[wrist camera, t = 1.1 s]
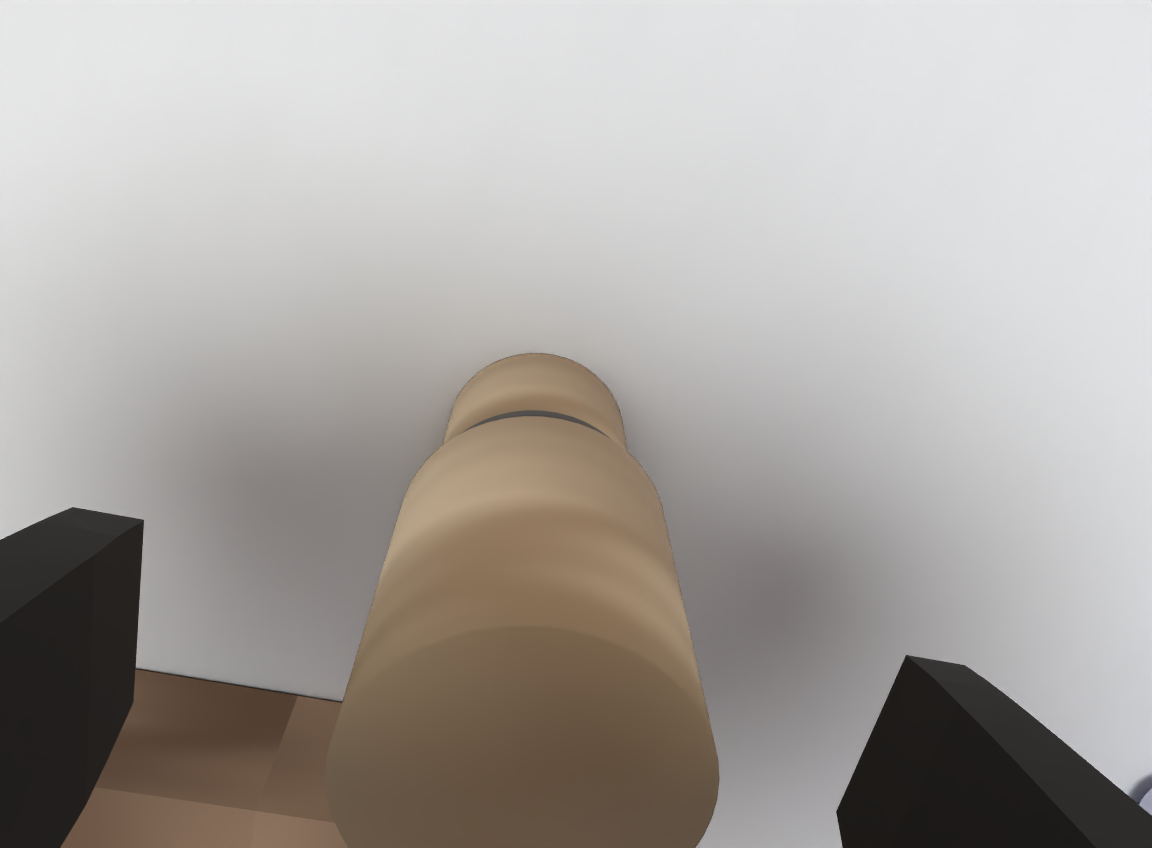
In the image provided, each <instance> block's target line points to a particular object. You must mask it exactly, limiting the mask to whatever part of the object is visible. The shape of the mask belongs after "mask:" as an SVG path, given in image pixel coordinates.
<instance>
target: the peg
mask: <svg viewBox="0 0 1152 848" xmlns="http://www.w3.org/2000/svg"><path fill="white" fill-rule="evenodd" d="M325 782H326V792H327V800H328V803H329V807H330V811H331V814H332V818H333V820H334V822H335V824H336V826H337V829H338V831H339V833H340V835H341V837H342V838H343V840H344V841H345V843H346V844H347V846H348V847H349V848H696V846H697V845H698V843H699V842H700V840H701V839H702V837H703V836H704V833H705V831H706V829H707V827H708V825H709V823H710V821H711V819H712V815H713V812H714V808H715V805H716V801H717V795H718V787H719V766H718V757H717V753H716V748H715V744H714V739H713V735H712V730H711V726H710V721H709V716H708V712H707V707H706V703H705V698H704V694H703V689H702V685H701V680H700V676H699V671H698V667H697V662H696V658H695V653H694V649H693V644H692V640H691V635H690V631H689V626H688V622H687V617H686V613H685V608H684V604H683V599H682V595H681V590H680V586H679V581H678V577H677V572H676V568H675V563H674V559H673V554H672V549H671V545H670V540H669V536H668V531H667V527H666V522H665V518H664V514H663V509H662V505H661V501H660V499H659V496H658V494H657V491H656V489H655V487H654V485H653V483H652V481H651V480H650V478H649V476H648V474H647V473H646V472H645V471H644V469H643V468H642V467H641V465H640V464H639V463H638V462H637V460H636V459H634V458H633V457H632V456H631V455H630V454H629V453H628V451H627V446H626V440H625V434H624V428H623V422H622V418H621V414H620V410H619V408H618V405H617V403H616V401H615V399H614V397H613V395H612V393H611V392H610V391H609V389H608V388H607V387H606V385H605V384H604V383H603V382H602V381H601V380H600V379H599V378H598V377H597V376H596V375H595V374H594V373H592V372H591V371H590V370H588V369H587V368H585V367H583V366H582V365H580V364H578V363H576V362H574V361H571V360H569V359H567V358H563V357H560V356H556V355H550V354H542V353H529V354H520V355H515V356H511V357H507V358H504V359H502V360H499V361H496V362H495V363H493V364H491V365H489V366H487V367H485V368H484V369H483V370H481V371H480V372H478V373H477V374H476V375H475V376H474V377H473V378H472V379H471V380H470V381H469V382H468V383H467V384H466V385H465V387H464V388H463V389H462V390H461V392H460V394H459V395H458V397H457V399H456V401H455V403H454V406H453V408H452V411H451V415H450V419H449V423H448V427H447V431H446V435H445V439H444V443H443V446H441V447H440V448H439V449H438V450H437V451H436V452H435V453H433V454H432V455H431V456H430V457H429V458H428V459H427V460H426V462H425V463H424V464H423V465H422V467H421V468H420V469H419V470H418V472H417V473H416V475H415V476H414V478H413V480H412V481H411V483H410V485H409V487H408V489H407V492H406V494H405V497H404V499H403V502H402V505H401V509H400V512H399V515H398V519H397V522H396V525H395V529H394V532H393V535H392V539H391V542H390V545H389V549H388V552H387V555H386V559H385V562H384V565H383V569H382V572H381V575H380V579H379V582H378V585H377V589H376V592H375V595H374V599H373V602H372V605H371V609H370V612H369V615H368V619H367V622H366V625H365V629H364V632H363V635H362V639H361V642H360V645H359V649H358V652H357V655H356V659H355V662H354V665H353V669H352V672H351V675H350V679H349V682H348V685H347V689H346V692H345V695H344V699H343V702H342V705H341V709H340V712H339V715H338V718H337V722H336V725H335V728H334V732H333V735H332V739H331V742H330V746H329V750H328V754H327V759H326V773H325Z"/></svg>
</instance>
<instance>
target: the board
mask: <svg viewBox="0 0 1152 848" xmlns="http://www.w3.org/2000/svg"><path fill="white" fill-rule="evenodd" d="M341 705H342V703H339V702H333V701H327V700H321V699H315V698H308V697H302V696H296V695H290V694H284V693H278V692H272V691H265V690H259V689H253V688H247V687H241V686H235V685H229V684H223V683H216V682H210V681H204V680H198V679H192V678H186V677H180V676H173V675H167V674H161V673H155V672H149V671H143V670H137V669H135V685H134V702H133V704H132V707H131V709H130V711H129V713H128V716H127V718H126V720H125V722H124V724H123V727H122V729H121V731H120V733H119V736H118V738H117V740H116V742H115V744H114V747H113V749H112V751H111V753H110V756H109V758H108V760H107V762H106V764H105V766H104V768H103V770H102V773H101V775H100V777H99V779H98V781H97V783H96V785H95V787H94V789H93V791H92V794H91V796H90V798H89V800H88V802H87V804H86V806H85V808H84V809H83V811H82V813H81V814H80V816H79V818H78V819H77V821H76V823H75V824H74V826H73V828H72V829H71V831H70V833H69V834H68V836H67V838H66V839H65V841H64V843H63V844H62V846H61V847H60V848H349V847H348V846H347V844H346V843H345V841H344V840H343V838H342V837H341V835H340V833H339V831H338V829H337V826H336V824H335V822H334V820H333V818H332V814H331V811H330V807H329V803H328V800H327V792H326V782H325V773H326V759H327V754H328V750H329V746H330V742H331V739H332V735H333V732H334V728H335V725H336V722H337V718H338V715H339V712H340V709H341Z"/></svg>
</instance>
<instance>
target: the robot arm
mask: <svg viewBox="0 0 1152 848" xmlns="http://www.w3.org/2000/svg"><path fill="white" fill-rule="evenodd" d="M143 527H144V520H142V519H136V518H130V517H125V516H119V515H113V514H108V513H102V512H97V511H91V510H85V509H80V508H74V507H72V508H70V509H68V510H65V511H63V512H60V513H58V514H55V515H53V516H51V517H48V518H46V519H44V520H42V521H39V522H37V523H35V524H33V525H31V526H29V527H27V528H24V529H22V530H20V531H18V532H16V533H14V534H12V535H10V536H8V537H5V538H3V539H1V540H0V848H60V847H61V846H62V844H63V843H64V841H65V839H66V838H67V836H68V834H69V833H70V831H71V829H72V828H73V826H74V824H75V823H76V821H77V819H78V818H79V816H80V814H81V813H82V811H83V809H84V808H85V806H86V804H87V802H88V800H89V798H90V796H91V794H92V791H93V789H94V787H95V785H96V783H97V781H98V779H99V777H100V775H101V773H102V770H103V768H104V766H105V764H106V762H107V760H108V758H109V756H110V753H111V751H112V749H113V747H114V744H115V742H116V740H117V738H118V736H119V733H120V731H121V729H122V727H123V724H124V722H125V720H126V718H127V716H128V713H129V711H130V709H131V707H132V704H133V702H134V685H135V667H136V650H137V632H138V615H139V597H140V580H141V562H142V545H143ZM836 812H837V818H838V823H839V829H840V835H841V840H842V846H843V848H1152V789H1150V790H1149V791H1148V792H1147V794H1146V795H1145V796H1144V797H1143V799H1142V800H1141V802H1140V804H1139V805H1138V804H1137V803H1136V802H1135V801H1134V800H1132V799H1131V798H1130V797H1129V796H1128V795H1126V794H1125V793H1124V792H1123V791H1122V790H1120V789H1119V788H1118V787H1117V786H1116V785H1114V784H1113V783H1112V782H1111V781H1110V780H1108V779H1107V778H1106V777H1105V776H1104V775H1102V774H1101V773H1100V772H1099V771H1098V770H1096V769H1095V768H1094V767H1093V766H1092V765H1091V764H1089V763H1088V762H1087V761H1086V760H1085V759H1083V758H1082V757H1081V756H1080V755H1079V754H1077V753H1076V752H1075V751H1074V750H1073V749H1071V748H1070V747H1069V746H1068V745H1067V744H1065V743H1064V742H1063V741H1062V740H1061V739H1059V738H1058V737H1057V736H1056V735H1055V734H1053V733H1052V732H1051V731H1050V730H1049V729H1047V728H1046V727H1045V726H1044V725H1043V724H1041V723H1040V722H1039V721H1038V720H1036V719H1035V718H1034V717H1033V716H1031V715H1030V714H1029V713H1028V712H1027V711H1025V710H1024V709H1023V708H1022V707H1020V706H1019V705H1018V704H1017V703H1015V702H1014V701H1013V700H1012V699H1010V698H1009V697H1008V696H1006V695H1005V694H1004V693H1003V692H1001V691H1000V690H999V689H997V688H996V687H995V686H993V685H992V684H991V683H989V682H988V681H987V680H985V679H984V678H982V677H981V676H980V675H978V674H977V673H975V672H974V671H972V670H971V669H969V668H968V667H966V666H965V665H960V664H954V663H948V662H943V661H937V660H931V659H926V658H920V657H914V656H909V655H906V657H905V659H904V661H903V663H902V666H901V668H900V670H899V672H898V675H897V677H896V679H895V681H894V684H893V686H892V688H891V690H890V693H889V695H888V697H887V699H886V702H885V704H884V706H883V708H882V710H881V713H880V715H879V717H878V719H877V722H876V724H875V726H874V728H873V731H872V733H871V735H870V737H869V740H868V742H867V744H866V746H865V749H864V751H863V753H862V755H861V758H860V760H859V762H858V764H857V767H856V769H855V771H854V773H853V775H852V778H851V780H850V782H849V784H848V787H847V789H846V791H845V793H844V796H843V798H842V800H841V802H840V805H839V807H838V809H837V811H836Z"/></svg>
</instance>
